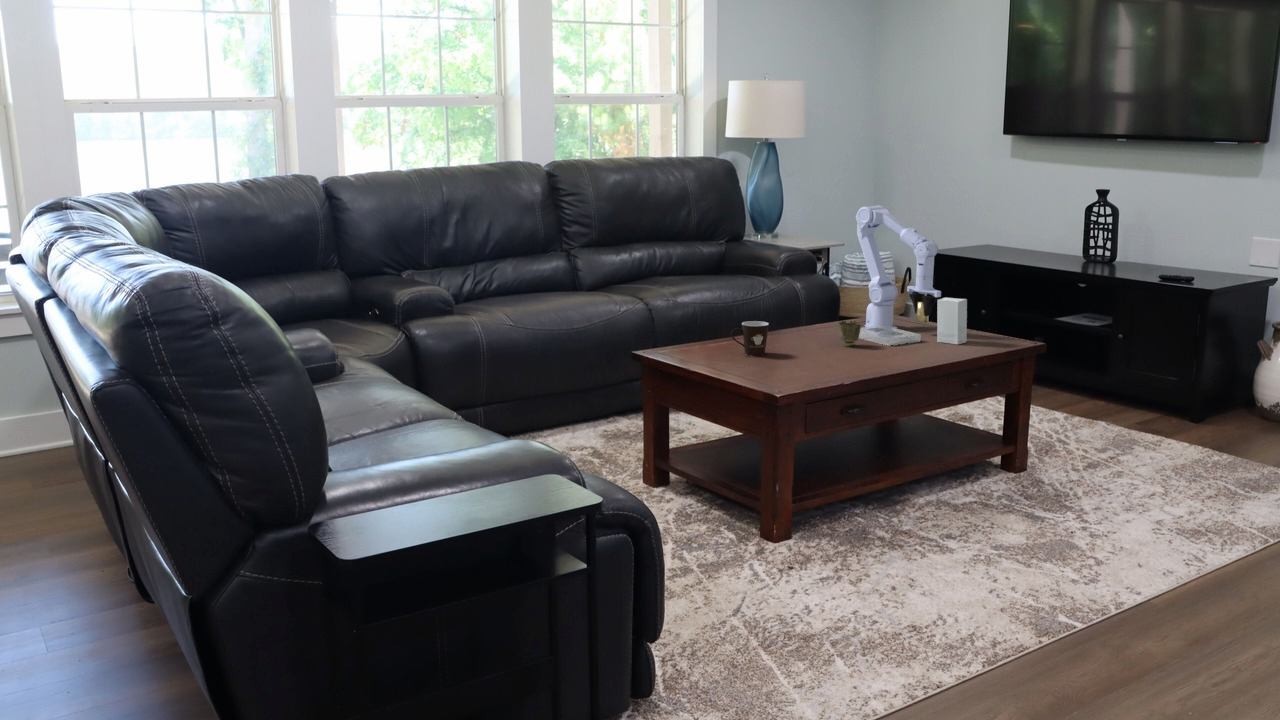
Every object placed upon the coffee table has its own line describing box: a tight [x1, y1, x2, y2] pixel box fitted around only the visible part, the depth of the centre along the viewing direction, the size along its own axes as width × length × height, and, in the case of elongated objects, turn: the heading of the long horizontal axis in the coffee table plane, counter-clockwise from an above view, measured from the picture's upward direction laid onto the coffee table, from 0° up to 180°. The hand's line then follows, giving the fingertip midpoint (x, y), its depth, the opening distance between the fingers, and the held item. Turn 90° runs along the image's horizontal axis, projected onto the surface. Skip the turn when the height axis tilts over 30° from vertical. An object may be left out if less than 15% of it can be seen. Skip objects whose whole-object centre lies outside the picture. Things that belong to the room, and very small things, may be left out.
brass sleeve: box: [915, 301, 929, 324], centre depth 380 cm, size 4×4×7 cm
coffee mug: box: [730, 320, 769, 357], centre depth 353 cm, size 12×9×10 cm
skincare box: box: [936, 297, 968, 345], centre depth 367 cm, size 8×6×15 cm
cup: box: [838, 320, 862, 348], centre depth 364 cm, size 8×7×8 cm
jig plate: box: [858, 325, 922, 347], centre depth 375 cm, size 20×14×2 cm
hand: (922, 314), depth 381 cm, fingers closed on brass sleeve, 4 cm apart
